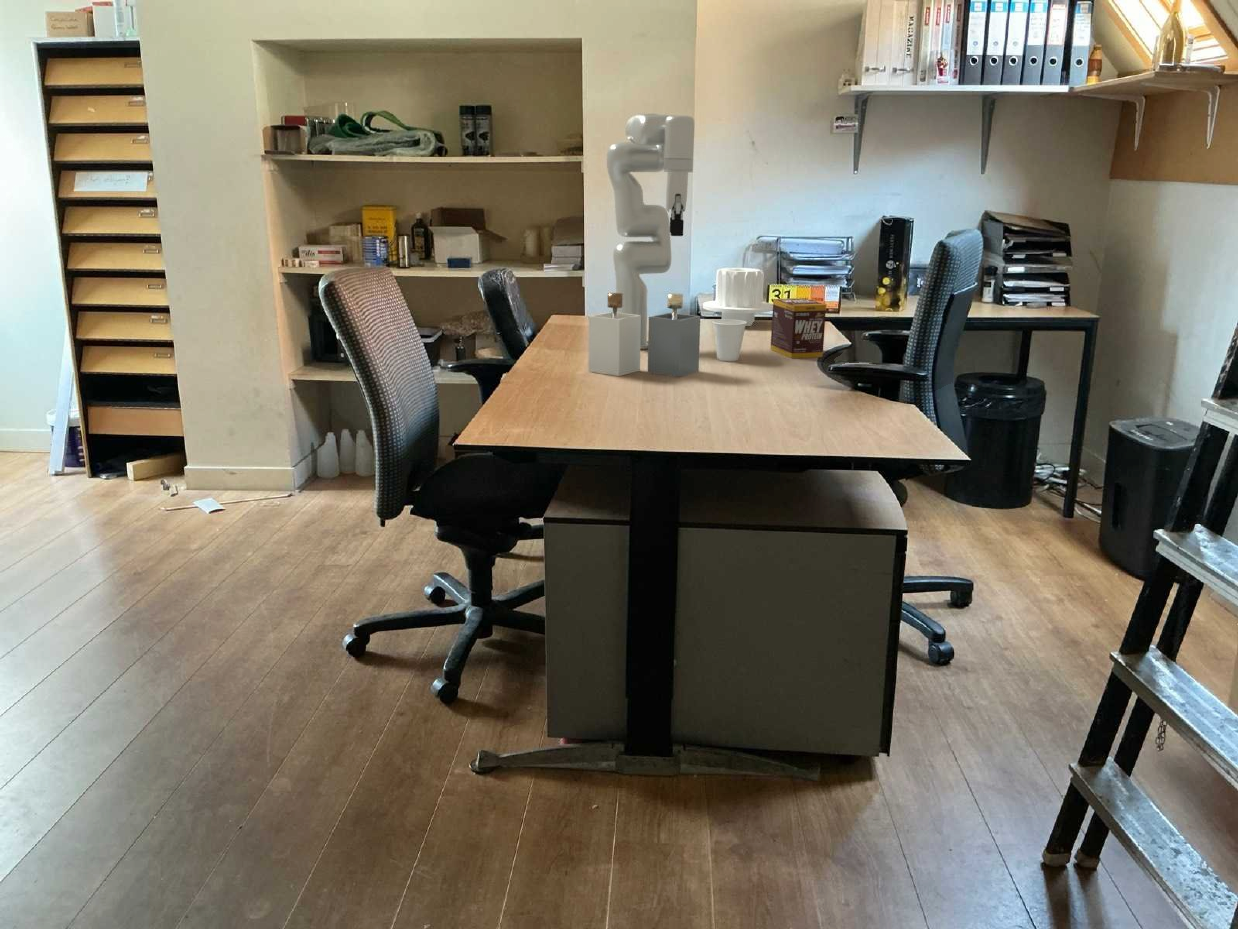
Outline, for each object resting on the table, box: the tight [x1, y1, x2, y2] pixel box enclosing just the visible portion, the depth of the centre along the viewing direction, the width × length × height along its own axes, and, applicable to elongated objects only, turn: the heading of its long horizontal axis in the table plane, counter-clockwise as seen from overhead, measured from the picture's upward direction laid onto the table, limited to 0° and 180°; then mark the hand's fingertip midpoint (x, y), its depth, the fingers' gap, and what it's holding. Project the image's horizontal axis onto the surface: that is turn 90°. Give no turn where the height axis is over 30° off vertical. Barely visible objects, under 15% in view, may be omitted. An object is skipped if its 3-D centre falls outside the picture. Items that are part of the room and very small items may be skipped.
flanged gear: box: [702, 267, 773, 327], centre depth 361 cm, size 25×25×19 cm
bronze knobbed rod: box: [607, 292, 623, 319], centre depth 277 cm, size 8×8×19 cm
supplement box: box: [770, 297, 827, 359], centre depth 307 cm, size 10×15×16 cm
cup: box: [711, 318, 747, 362], centre depth 296 cm, size 10×10×11 cm
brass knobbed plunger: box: [667, 293, 684, 320], centre depth 276 cm, size 8×8×19 cm
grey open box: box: [647, 312, 701, 378], centre depth 277 cm, size 10×10×15 cm
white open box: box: [588, 311, 641, 377], centre depth 278 cm, size 10×10×15 cm
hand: (676, 234), depth 270 cm, fingers open, 9 cm apart
